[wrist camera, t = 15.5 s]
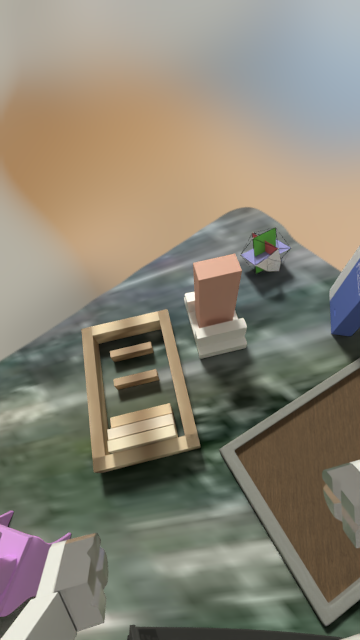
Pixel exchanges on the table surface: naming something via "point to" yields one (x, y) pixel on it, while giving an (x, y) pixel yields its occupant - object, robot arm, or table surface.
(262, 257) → the geometric puzzle
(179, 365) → the offcut rack
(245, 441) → the framed brown board
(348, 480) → the robot arm
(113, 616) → the table surface
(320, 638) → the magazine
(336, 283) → the walkman
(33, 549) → the toy chair
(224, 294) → the salmon pink brick
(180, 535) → the table surface
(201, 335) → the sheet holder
